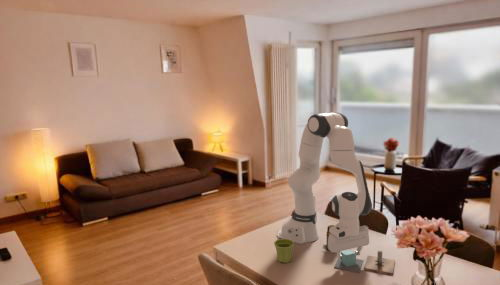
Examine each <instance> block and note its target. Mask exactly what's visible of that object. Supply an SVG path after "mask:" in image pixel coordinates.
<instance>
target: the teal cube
mask: <svg viewBox="0 0 500 285" xmlns="http://www.w3.org/2000/svg"><path fill="white" fill-rule="evenodd" d="M340 254H341V255H342V259H341V262H342V263H343V264H344V265H346V266H352V265H356V259H357V255H356V254H355V251H353V250H351V249H347V250H343V251H340Z"/></svg>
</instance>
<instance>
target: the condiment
mask: <svg viewBox="0 0 500 285" xmlns="http://www.w3.org/2000/svg"><path fill="white" fill-rule="evenodd" d="M335 225H336V224H335ZM335 225H334V224H331V225H328V226H327V229H326V230H327V231H326V244H322V249H321V252H326V253H332V254H333V253H334V254H336V252H331V251H330V250H329V249H328V237H329V235H330V234H331V233H330V232H329V229H330V228H331V227H333V226H335Z"/></svg>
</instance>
